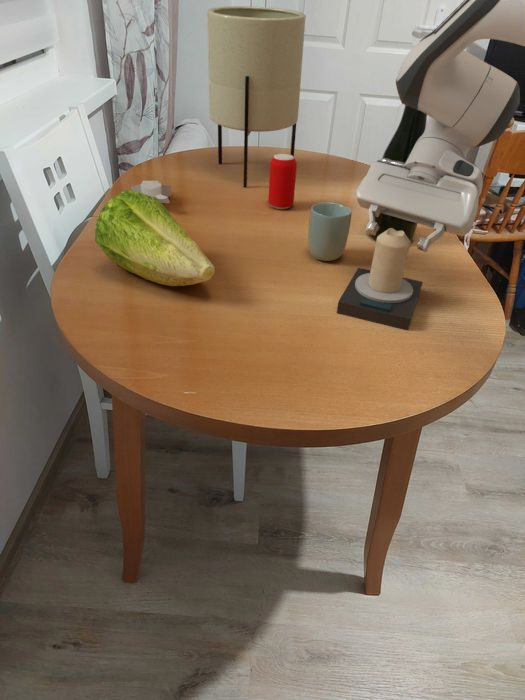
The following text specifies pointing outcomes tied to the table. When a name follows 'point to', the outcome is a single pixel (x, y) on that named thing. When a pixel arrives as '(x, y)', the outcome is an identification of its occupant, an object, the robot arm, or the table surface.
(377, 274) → the candle
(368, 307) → the scale
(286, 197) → the beverage can
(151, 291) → the table surface
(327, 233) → the cup
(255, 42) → the planter
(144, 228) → the lettuce
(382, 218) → the dark wine bottle
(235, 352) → the table surface
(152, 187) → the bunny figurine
